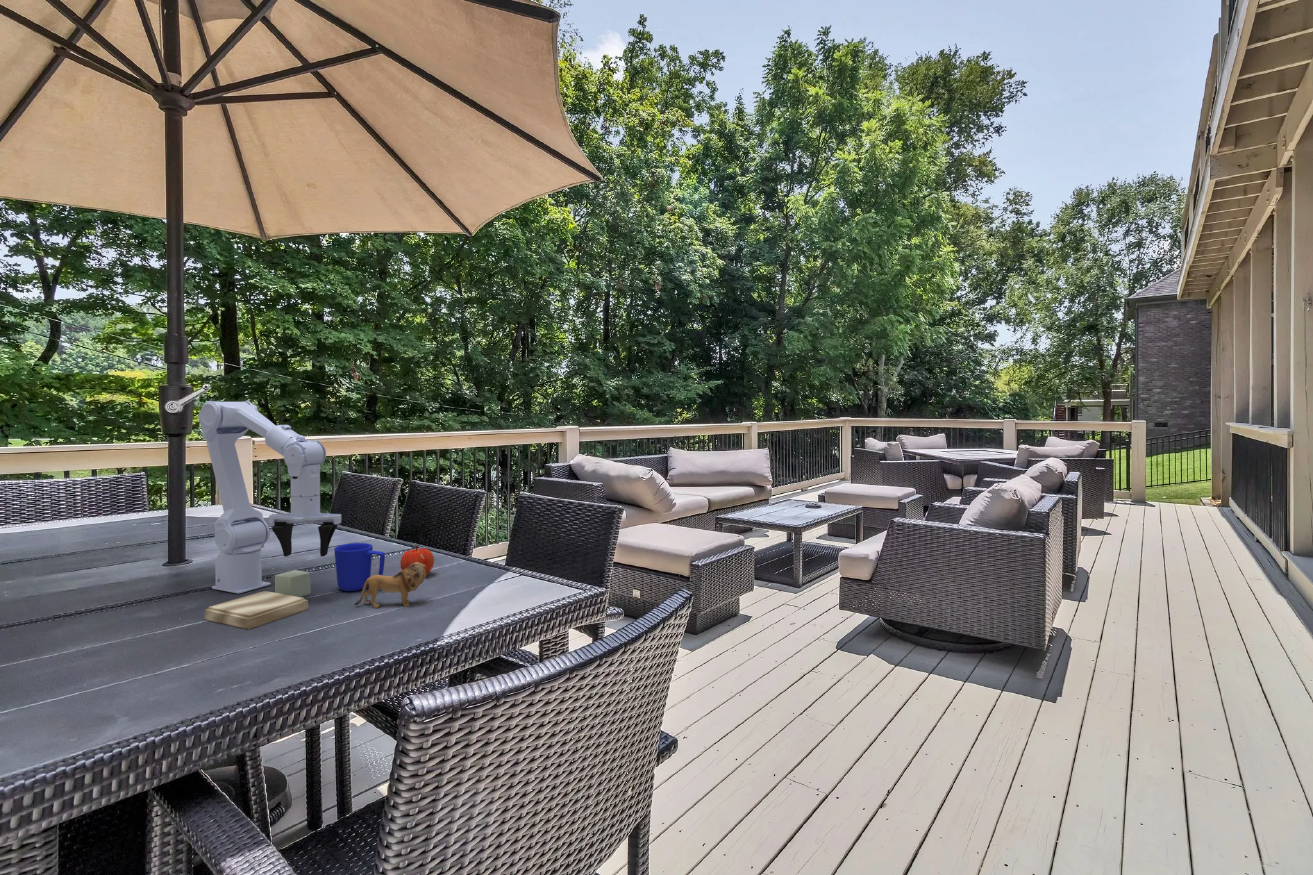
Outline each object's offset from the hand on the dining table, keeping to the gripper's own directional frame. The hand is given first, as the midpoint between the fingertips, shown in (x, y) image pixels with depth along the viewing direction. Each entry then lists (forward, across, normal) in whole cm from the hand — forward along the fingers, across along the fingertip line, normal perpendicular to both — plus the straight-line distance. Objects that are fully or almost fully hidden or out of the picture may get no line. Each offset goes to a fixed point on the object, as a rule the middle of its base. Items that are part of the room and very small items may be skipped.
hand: (305, 555), depth 141 cm
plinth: (+10, -5, -10) cm, 15 cm away
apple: (+10, +20, +17) cm, 28 cm away
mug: (+10, +10, +6) cm, 15 cm away
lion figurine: (+10, +20, -5) cm, 23 cm away
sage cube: (+10, -4, +3) cm, 11 cm away
